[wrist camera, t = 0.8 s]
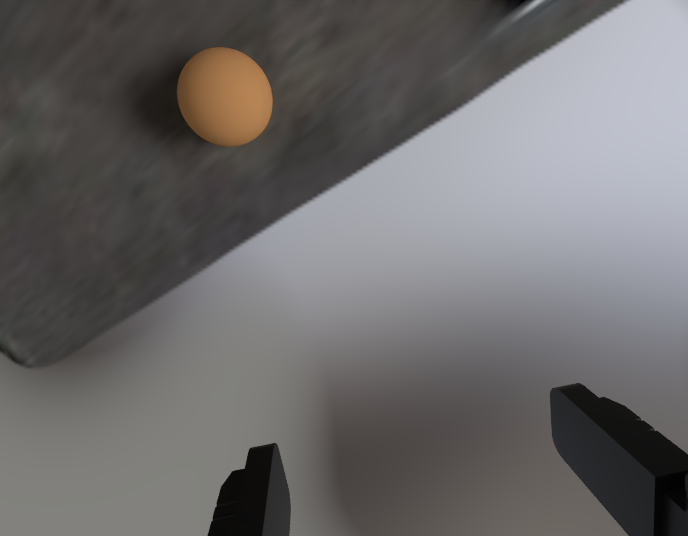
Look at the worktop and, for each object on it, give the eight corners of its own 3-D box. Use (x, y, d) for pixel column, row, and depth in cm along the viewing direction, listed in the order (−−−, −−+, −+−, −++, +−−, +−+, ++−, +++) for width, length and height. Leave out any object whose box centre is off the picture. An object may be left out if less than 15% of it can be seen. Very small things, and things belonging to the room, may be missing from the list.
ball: (182, 130, 28) (159, 135, 23) (194, 41, 26) (173, 25, 21) (264, 152, 29) (260, 161, 24) (281, 68, 28) (281, 59, 22)
